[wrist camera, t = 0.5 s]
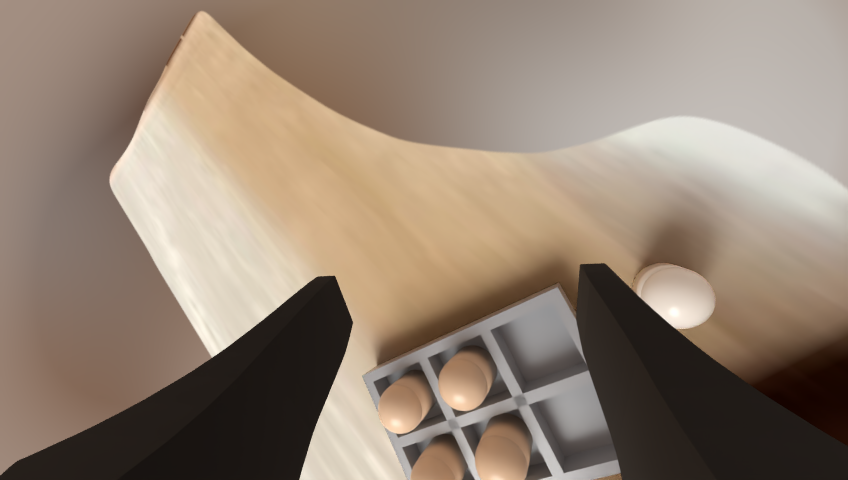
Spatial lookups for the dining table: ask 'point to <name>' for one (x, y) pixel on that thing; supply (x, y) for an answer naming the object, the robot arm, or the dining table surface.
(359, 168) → the dining table surface
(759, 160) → the dining table surface
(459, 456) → the egg carton
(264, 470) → the robot arm
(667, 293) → the white egg
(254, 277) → the dining table surface
